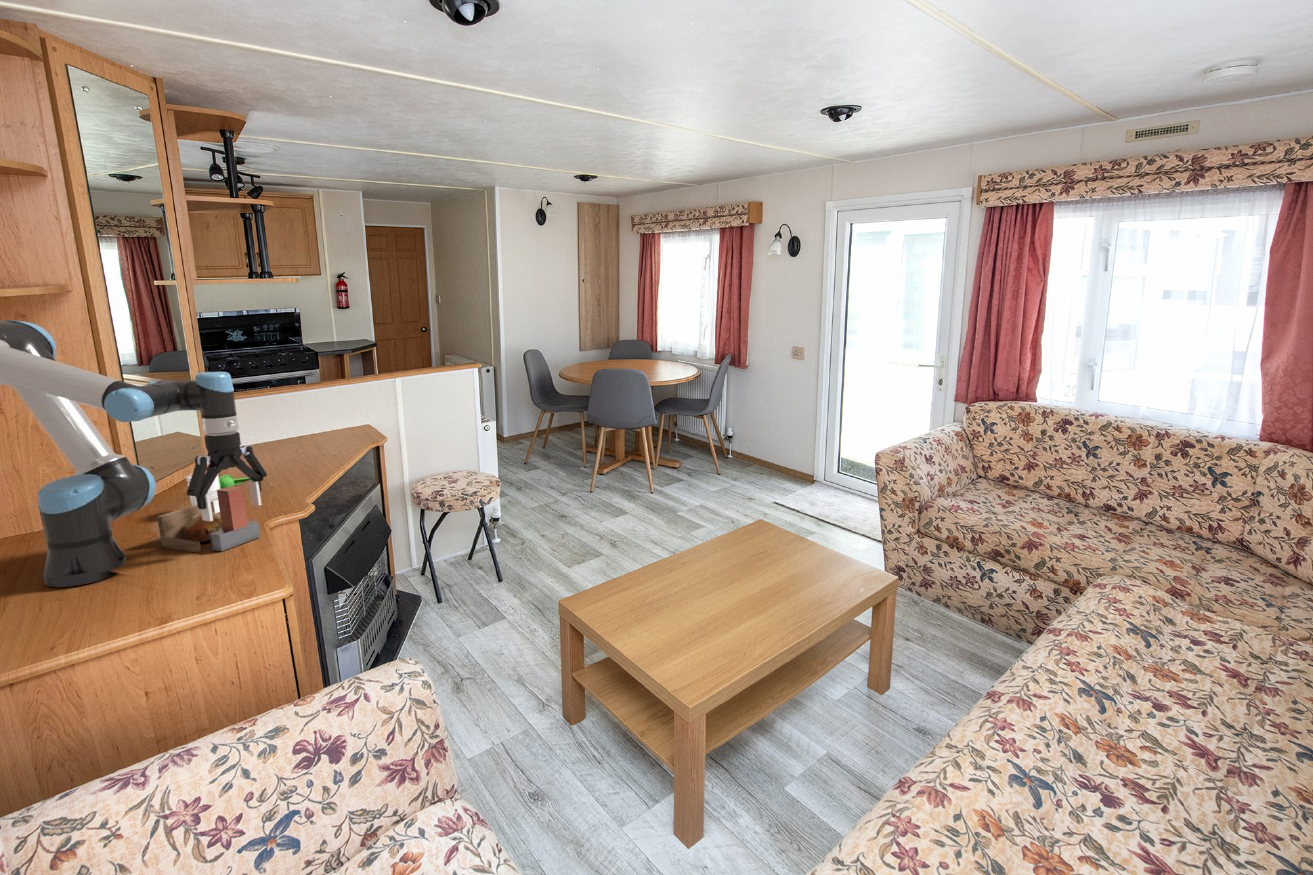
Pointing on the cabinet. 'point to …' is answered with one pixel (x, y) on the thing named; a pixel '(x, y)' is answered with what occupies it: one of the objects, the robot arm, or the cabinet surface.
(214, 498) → the striped cup with float
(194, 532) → the bread roll
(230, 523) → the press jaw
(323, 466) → the cabinet surface
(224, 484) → the lime squeezer
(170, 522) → the frame
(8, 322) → the robot arm
